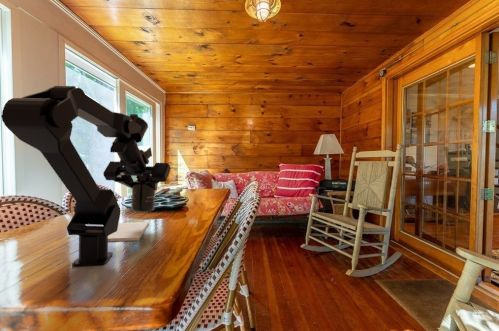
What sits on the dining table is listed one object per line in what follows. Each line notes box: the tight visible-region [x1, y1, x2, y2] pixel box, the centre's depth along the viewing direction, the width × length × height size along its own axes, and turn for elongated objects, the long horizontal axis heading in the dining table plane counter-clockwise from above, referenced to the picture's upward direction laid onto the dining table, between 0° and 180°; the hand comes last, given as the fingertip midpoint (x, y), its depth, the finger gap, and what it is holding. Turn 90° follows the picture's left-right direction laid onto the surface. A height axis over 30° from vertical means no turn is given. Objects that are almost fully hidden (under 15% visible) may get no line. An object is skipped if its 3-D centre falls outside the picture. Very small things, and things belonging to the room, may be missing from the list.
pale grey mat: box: [108, 221, 150, 242], centre depth 83 cm, size 18×12×1 cm, turn 12°
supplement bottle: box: [130, 174, 156, 213], centre depth 86 cm, size 7×7×12 cm
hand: (145, 188), depth 87 cm, fingers closed on supplement bottle, 7 cm apart
